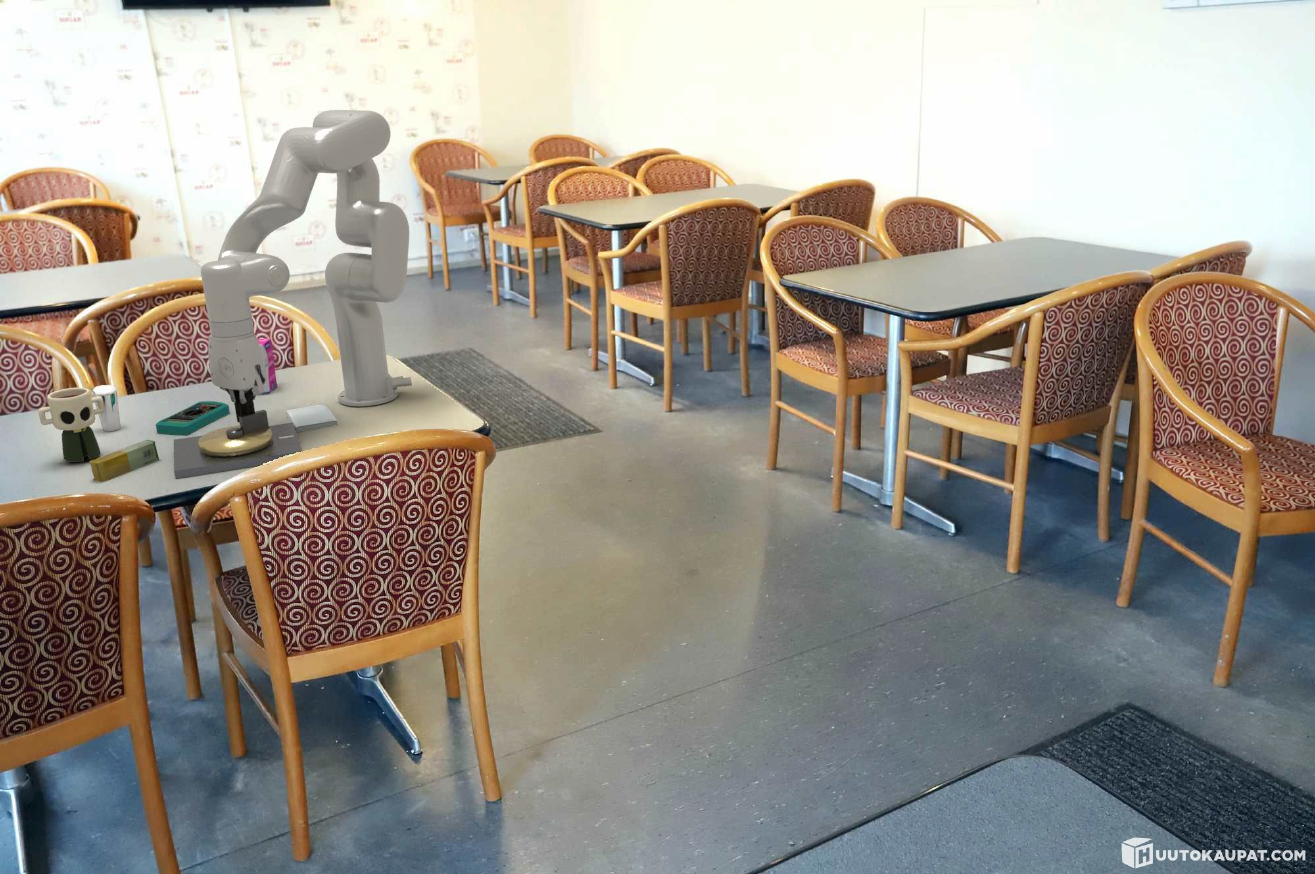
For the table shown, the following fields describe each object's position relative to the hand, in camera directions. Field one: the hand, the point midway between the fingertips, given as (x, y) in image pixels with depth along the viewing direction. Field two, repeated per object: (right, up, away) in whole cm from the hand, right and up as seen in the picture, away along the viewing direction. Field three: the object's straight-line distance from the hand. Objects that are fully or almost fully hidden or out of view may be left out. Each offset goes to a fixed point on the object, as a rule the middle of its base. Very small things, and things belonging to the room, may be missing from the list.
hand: (246, 420), depth 204 cm
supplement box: (-10, +7, +35) cm, 37 cm away
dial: (-1, -4, -3) cm, 5 cm away
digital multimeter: (-16, -1, +15) cm, 22 cm away
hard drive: (+8, 0, +15) cm, 17 cm away
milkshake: (-32, -2, +12) cm, 34 cm away
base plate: (-1, -6, -2) cm, 7 cm away
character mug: (-29, -7, -4) cm, 31 cm away
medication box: (-18, -9, -9) cm, 23 cm away
